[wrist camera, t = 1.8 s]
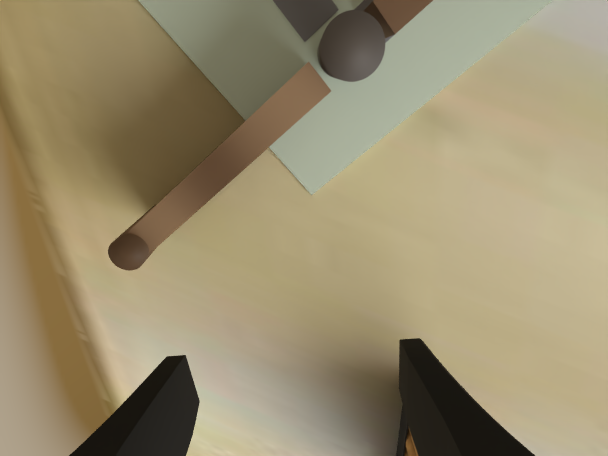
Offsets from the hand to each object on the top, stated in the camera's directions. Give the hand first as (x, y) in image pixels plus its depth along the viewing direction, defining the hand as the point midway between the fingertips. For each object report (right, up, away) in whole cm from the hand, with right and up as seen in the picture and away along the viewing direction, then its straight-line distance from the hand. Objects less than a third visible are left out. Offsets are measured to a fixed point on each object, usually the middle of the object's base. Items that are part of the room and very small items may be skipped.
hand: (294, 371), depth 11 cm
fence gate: (-3, +8, +5) cm, 10 cm away
